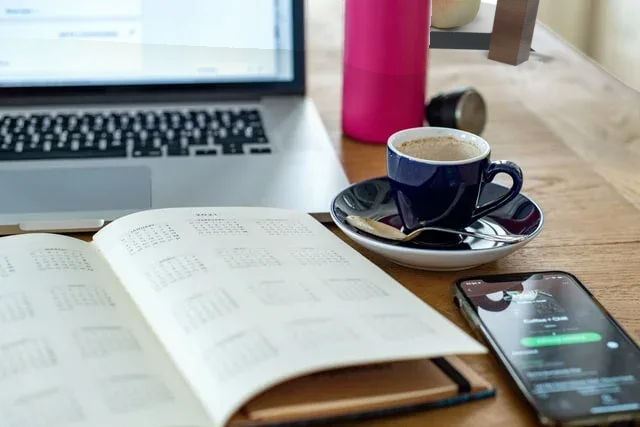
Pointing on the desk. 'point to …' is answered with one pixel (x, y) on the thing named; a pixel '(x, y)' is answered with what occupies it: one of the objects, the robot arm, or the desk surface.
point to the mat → (460, 40)
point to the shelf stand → (513, 31)
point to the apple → (453, 12)
